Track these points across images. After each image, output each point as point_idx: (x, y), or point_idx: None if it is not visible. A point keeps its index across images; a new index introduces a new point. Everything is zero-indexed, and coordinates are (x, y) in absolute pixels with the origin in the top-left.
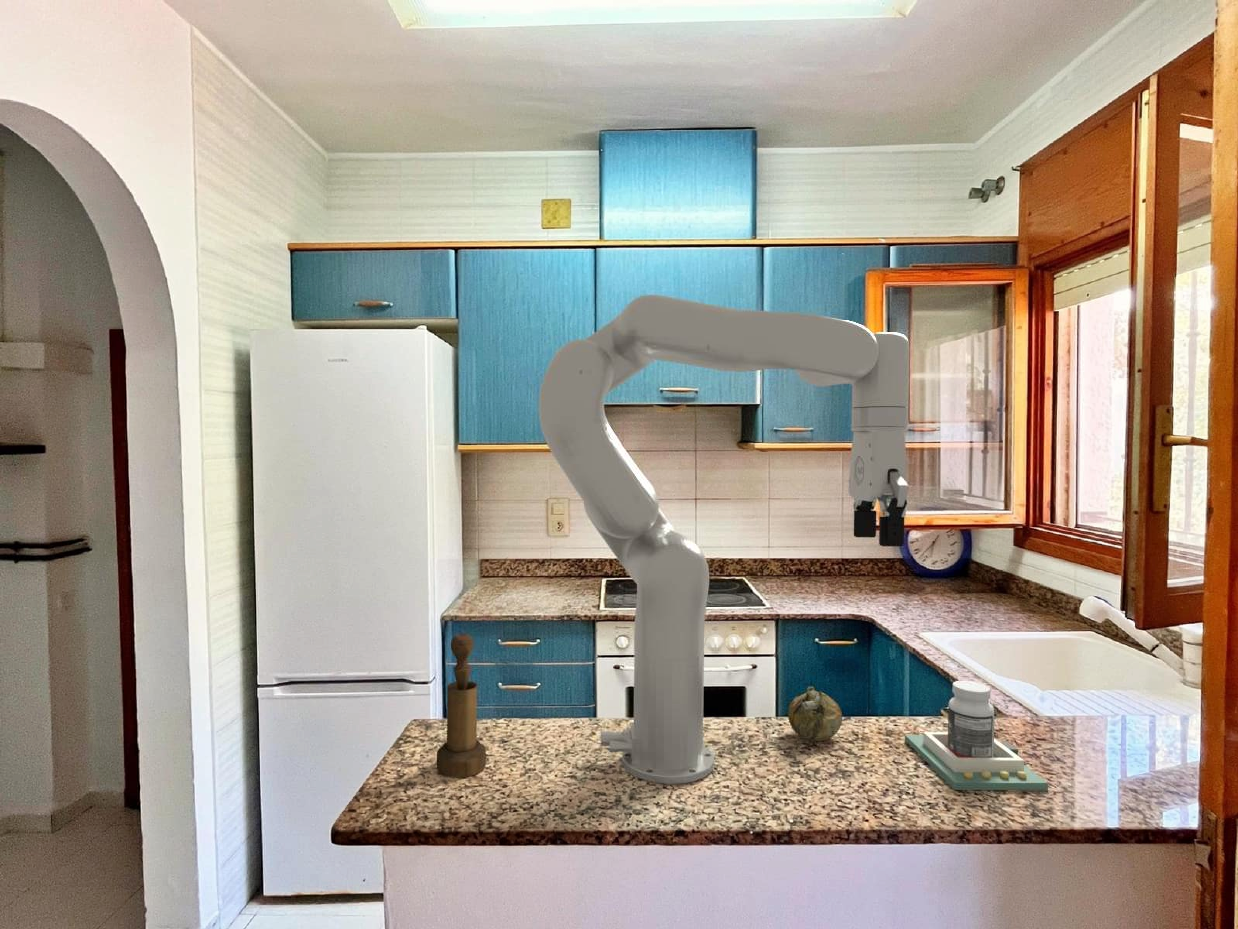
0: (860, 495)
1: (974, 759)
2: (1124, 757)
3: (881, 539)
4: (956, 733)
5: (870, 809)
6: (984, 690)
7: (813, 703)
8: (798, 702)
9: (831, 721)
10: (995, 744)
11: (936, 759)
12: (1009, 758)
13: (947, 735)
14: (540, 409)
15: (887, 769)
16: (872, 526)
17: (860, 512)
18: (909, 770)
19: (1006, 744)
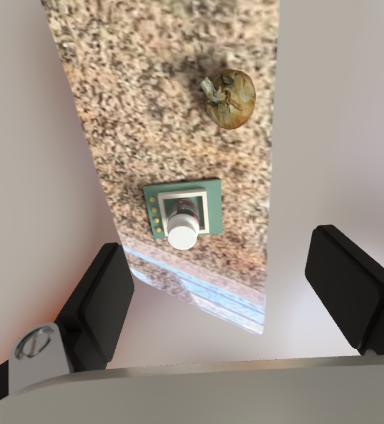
0: (207, 399)
1: (161, 208)
2: (204, 288)
3: (100, 254)
4: (175, 208)
5: (102, 118)
6: (172, 243)
7: (207, 92)
8: (229, 79)
9: (211, 114)
10: None
11: (177, 188)
12: (166, 229)
13: (203, 206)
14: None
15: (169, 150)
16: (323, 292)
17: (371, 304)
18: (170, 166)
19: None
